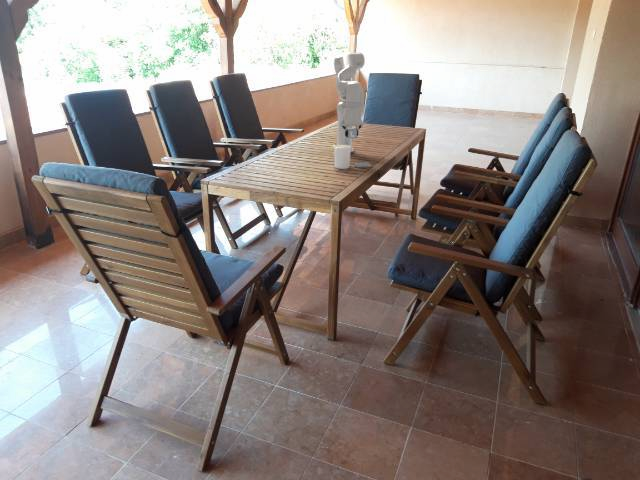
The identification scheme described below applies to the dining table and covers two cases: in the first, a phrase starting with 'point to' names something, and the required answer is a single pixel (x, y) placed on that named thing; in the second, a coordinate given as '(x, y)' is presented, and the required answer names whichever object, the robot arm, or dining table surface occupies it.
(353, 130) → the letter block
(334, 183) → the dining table surface
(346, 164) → the candle holder
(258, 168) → the dining table surface
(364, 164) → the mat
